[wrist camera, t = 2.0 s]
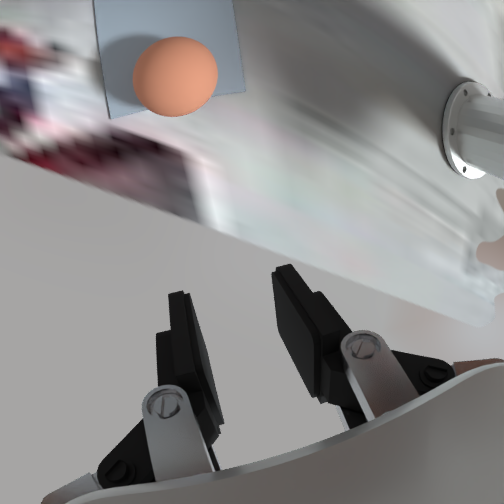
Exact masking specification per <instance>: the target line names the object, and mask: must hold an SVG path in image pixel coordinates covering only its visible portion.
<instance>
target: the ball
mask: <svg viewBox="0 0 504 504" xmlns="http://www.w3.org/2000/svg"><path fill="white" fill-rule="evenodd" d="M217 80H218V68H217V64H216V61H215V58H214V57H213V55H212V53H211V52H210V51H209V49H208V48H207V47H205V46H204V45H203V44H202V43H200V42H198V41H196V40H194V39H191V38H187V37H168V38H165V39H162V40H159V41H157V42H155V43H153V44H152V45H151V46H149V47H148V48H147V49H146V50H145V51H144V52H143V53H142V54H141V55H140V57H139V59H138V60H137V62H136V64H135V67H134V71H133V87H134V91H135V93H136V96H137V97H138V99H139V101H140V102H141V103H142V104H143V105H144V106H145V107H146V108H147V109H149V110H150V111H152V112H154V113H156V114H159V115H162V116H169V117H177V116H183V115H186V114H189V113H192V112H194V111H195V110H197V109H199V108H200V107H201V106H203V105H204V104H205V103H206V102H207V101H208V99H209V98H210V97H211V95H212V94H213V92H214V90H215V87H216V84H217Z"/></svg>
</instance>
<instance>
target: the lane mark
mask: <svg viewBox="0 0 504 504" xmlns="http://www.w3.org/2000/svg"><path fill="white" fill-rule="evenodd" d="M94 6H95V16H96V26H97V35H98V43H99V51H100V58H101V65H102V71H103V78H104V84H105V90H106V95H107V101H108V106H109V111H110V117H111V119H114V118H118V117H121V116H125V115H129V114H133V113H136V112H140V111H144V110H148V109H147V108H146V107H145V106H144V105H143V104H142V103H141V102H140V101H139V99H138V97H137V96H136V93H135V91H134V87H133V71H134V67H135V64H136V62H137V60H138V59H139V57H140V55H141V54H142V53H143V52H144V51H145V50H146V49H147V48H148V47H149V46H151V45H152V44H153V43H155V42H157V41H159V40H162V39H165V38H168V37H187V38H191V39H194V40H196V41H198V42H200V43H202V44H203V45H204V46H205V47H207V48H208V49H209V51H210V52H211V53H212V55H213V57H214V58H215V61H216V64H217V68H218V80H217V84H216V87H215V90H214V92H213V94H212V95H211V97H212V96H218V95H224V94H231V93H238V92H246V90H245V83H244V76H243V69H242V62H241V55H240V48H239V42H238V35H237V28H236V22H235V15H234V9H233V2H232V0H94Z"/></svg>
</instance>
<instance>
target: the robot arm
mask: <svg viewBox="0 0 504 504" xmlns="http://www.w3.org/2000/svg"><path fill="white" fill-rule="evenodd" d="M443 143H444V148H445V153H446V156H447V158H448V161H449V163H450V165H451V167H452V168H453V169H454V170H455V172H456V173H458V174H459V175H461V176H463V177H465V178H468V179H477V178H480V177H482V176H483V175H484V174H485V173H488V174H490V175H493V176H495V177H498V178H500V179H502V180H504V99H501V98H495V97H493V95H492V93H491V92H490V91H489V90H488V89H487V88H486V87H485V86H484V85H482V84H480V83H477V82H464V83H462V84H460V85H459V86H458V87H457V88H456V89H454V91H453V92H452V94H451V95H450V97H449V100H448V102H447V104H446V108H445V112H444V118H443ZM272 284H273V292H274V300H275V309H276V318H277V326H278V331H279V334H280V336H281V338H282V340H283V342H284V344H285V346H286V348H287V350H288V352H289V354H290V356H291V358H292V360H293V362H294V364H295V366H296V368H297V370H298V372H299V373H300V376H301V377H302V379H303V382H304V384H305V385H306V387H307V389H308V391H309V393H310V395H311V397H312V398H314V397H317V398H318V400H319V402H320V404H322V403H324V402H328V403H330V404H333V405H336V409H337V412H338V414H339V417H340V419H341V422H342V424H343V427H344V429H345V432H343V433H340V434H338V435H335V436H333V437H330V438H328V439H325V440H323V441H320V442H317V443H314V444H311V445H309V446H306V447H303V448H300V449H297V450H294V451H291V452H287V453H284V454H281V455H278V456H275V457H271V458H268V459H264V460H261V461H257V462H253V463H250V464H246V465H242V466H238V467H234V468H229V469H225V470H222V469H221V466H220V463H219V461H218V458H217V456H216V453H215V450H214V448H213V445H212V444H213V443H214V442H215V440H216V439H217V438H218V436H219V434H221V432H220V428H219V425H222V424H224V419H223V416H222V412H221V408H220V404H219V400H218V395H217V392H216V387H215V383H214V379H213V374H212V370H211V366H210V362H209V357H208V352H207V349H206V345H205V342H204V339H203V336H202V333H201V330H200V326H199V323H198V320H197V317H196V313H195V310H194V306H193V303H192V299H191V296H190V293H187V294H184V292H183V291H178V292H175V293H170V294H168V298H169V313H170V326H171V330H168V331H164V332H160V333H157V334H156V354H157V375H158V387H157V388H154V389H153V390H151V391H150V392H149V393H148V394H147V395H146V396H145V398H144V400H143V402H142V414H143V419H142V420H141V421H140V422H139V423H138V424H137V425H136V426H135V427H134V428H133V429H132V430H131V431H130V433H128V434H127V436H126V437H125V438H124V439H123V440H122V441H121V442H120V443H119V444H118V445H117V446H116V447H115V448H114V449H113V450H112V451H111V452H110V453H109V454H108V455H107V456H106V457H105V458H104V459H103V460H102V462H101V463H100V464H99V467H98V470H97V472H96V473H94V474H91V473H87V474H86V475H84V476H82V477H80V478H78V479H76V480H75V481H73V482H71V483H69V484H67V485H65V486H63V487H61V488H59V489H57V490H55V491H54V492H52V493H50V494H48V495H47V496H46V497H44V498H43V501H42V502H41V504H504V360H502V359H498V358H493V359H483V360H474V361H462V362H453V365H451V366H450V365H449V364H448V363H446V362H445V361H443V360H439V359H435V358H430V357H424V356H419V355H414V354H409V353H404V352H398V351H394V350H390V349H389V347H388V345H387V344H386V343H385V341H384V340H383V338H382V337H381V336H380V335H378V334H376V333H374V332H371V331H366V330H359V331H354V332H352V331H351V329H350V328H349V327H348V325H347V324H346V323H345V322H344V320H343V319H342V318H341V316H340V315H339V314H338V312H337V311H336V310H335V309H334V307H333V306H332V305H331V304H330V302H329V301H328V300H327V298H326V297H325V296H324V294H323V293H322V292H320V291H317V292H314V293H313V292H312V291H311V290H310V289H309V287H308V286H307V284H306V283H305V282H304V280H303V279H302V278H301V276H300V275H299V274H298V272H297V271H296V270H295V269H294V267H293V266H292V265H291V264H287V265H283V266H280V267H276V271H275V272H272Z"/></svg>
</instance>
